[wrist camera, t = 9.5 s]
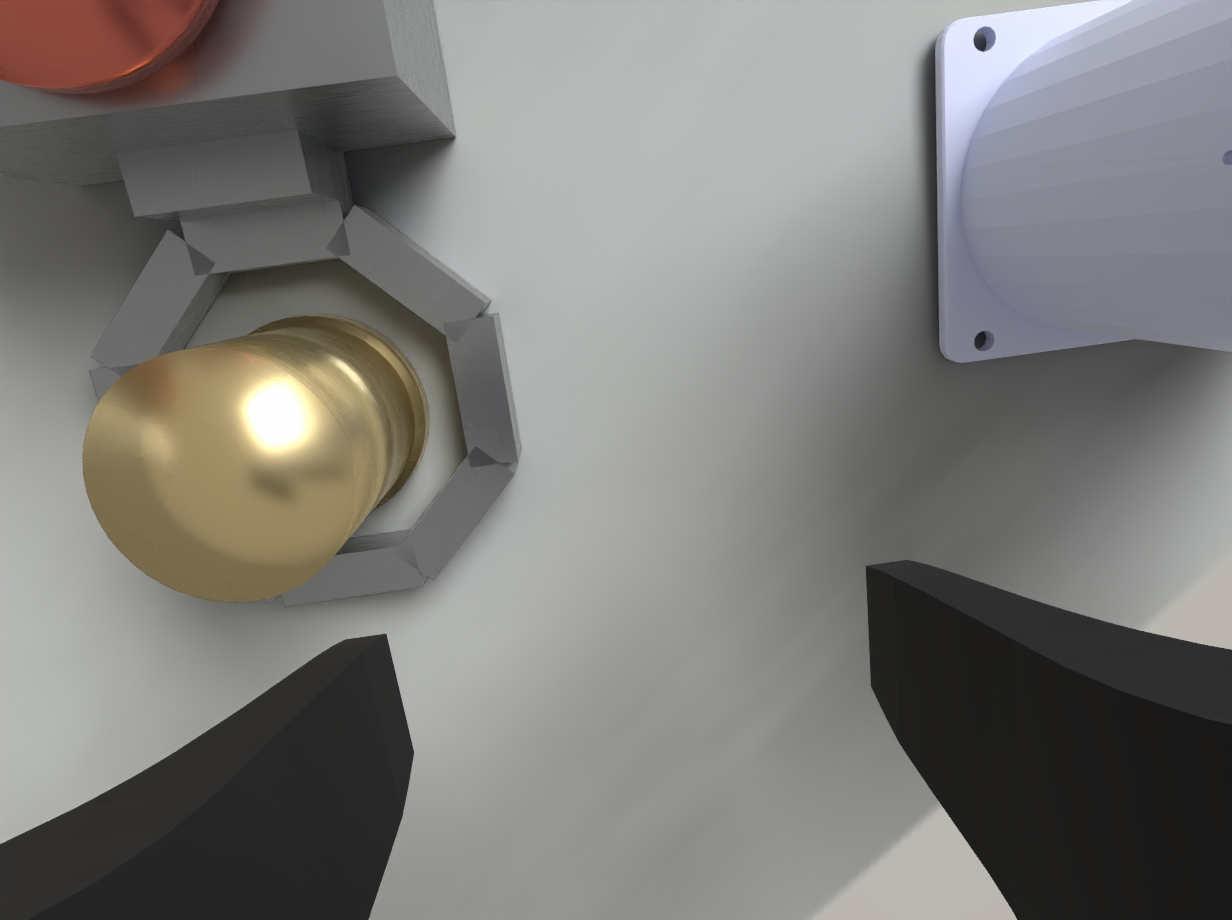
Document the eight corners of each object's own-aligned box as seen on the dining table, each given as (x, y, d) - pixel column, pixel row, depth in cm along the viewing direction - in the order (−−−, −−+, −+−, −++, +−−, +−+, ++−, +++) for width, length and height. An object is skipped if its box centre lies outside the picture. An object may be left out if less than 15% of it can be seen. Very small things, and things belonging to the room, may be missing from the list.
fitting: (415, 307, 19) (341, 327, 13) (440, 503, 20) (385, 600, 14) (206, 321, 19) (37, 347, 13) (246, 517, 20) (109, 622, 14)
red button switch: (390, -332, 15) (243, -800, 9) (538, 553, 20) (520, 696, 14) (-77, -274, 15) (-601, -706, 8) (192, 602, 20) (0, 770, 14)
